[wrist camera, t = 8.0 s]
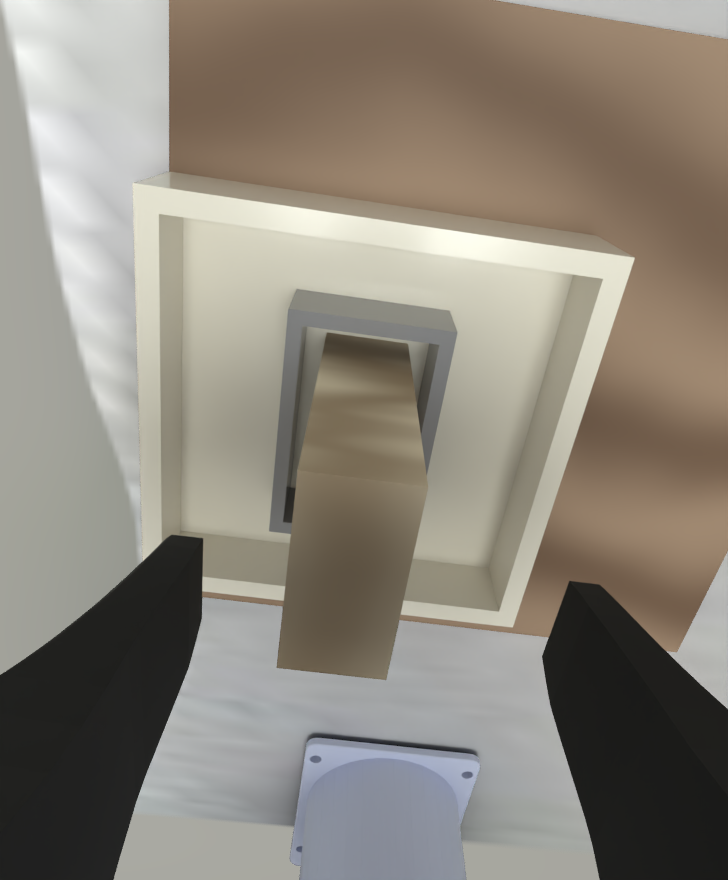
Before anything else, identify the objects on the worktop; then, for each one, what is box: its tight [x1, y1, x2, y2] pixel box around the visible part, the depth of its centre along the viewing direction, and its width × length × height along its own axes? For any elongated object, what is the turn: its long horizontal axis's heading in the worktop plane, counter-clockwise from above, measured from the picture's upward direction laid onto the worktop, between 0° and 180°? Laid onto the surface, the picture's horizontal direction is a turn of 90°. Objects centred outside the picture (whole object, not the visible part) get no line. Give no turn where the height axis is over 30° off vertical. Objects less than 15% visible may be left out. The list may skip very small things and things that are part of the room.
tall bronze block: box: [277, 332, 428, 680], centre depth 16 cm, size 2×5×8 cm, turn 172°
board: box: [169, 0, 728, 652], centre depth 21 cm, size 20×20×1 cm
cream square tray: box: [133, 171, 635, 628], centre depth 19 cm, size 12×12×3 cm
